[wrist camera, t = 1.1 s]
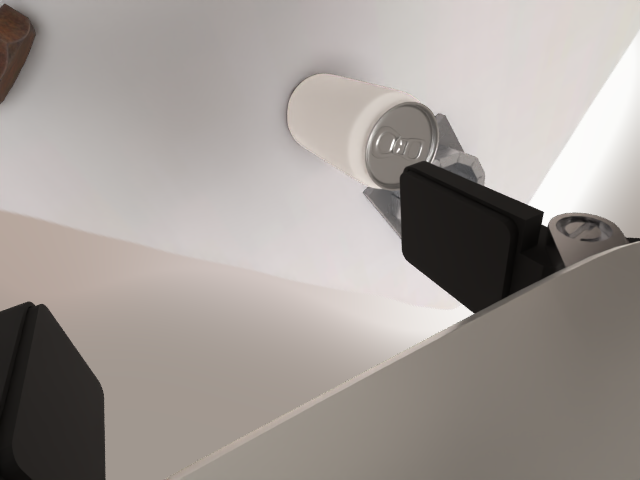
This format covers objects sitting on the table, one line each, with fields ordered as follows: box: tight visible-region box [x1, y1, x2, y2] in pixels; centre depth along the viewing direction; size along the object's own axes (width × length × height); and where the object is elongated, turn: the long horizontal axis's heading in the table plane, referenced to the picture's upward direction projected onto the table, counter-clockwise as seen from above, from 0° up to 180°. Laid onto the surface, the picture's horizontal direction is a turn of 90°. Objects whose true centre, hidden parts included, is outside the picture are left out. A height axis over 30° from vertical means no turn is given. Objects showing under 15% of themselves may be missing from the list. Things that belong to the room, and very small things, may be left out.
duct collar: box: [363, 114, 485, 238], centre depth 42 cm, size 11×11×4 cm
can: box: [287, 74, 439, 191], centre depth 29 cm, size 6×6×12 cm
